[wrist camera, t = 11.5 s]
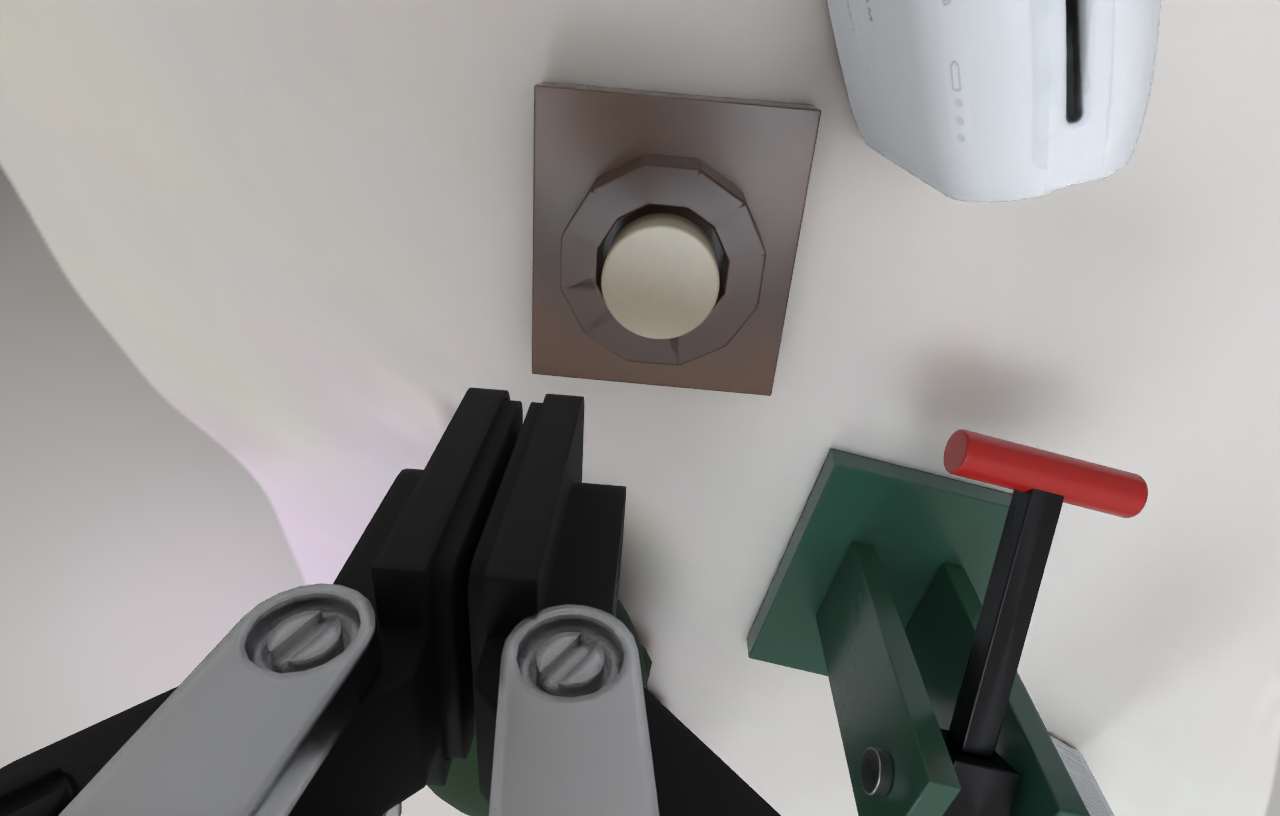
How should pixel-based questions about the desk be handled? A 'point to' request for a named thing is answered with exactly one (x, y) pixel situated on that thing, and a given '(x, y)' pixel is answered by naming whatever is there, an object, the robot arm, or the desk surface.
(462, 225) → the desk surface
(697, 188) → the button block
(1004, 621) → the lever
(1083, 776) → the small box
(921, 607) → the bracket
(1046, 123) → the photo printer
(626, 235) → the button
